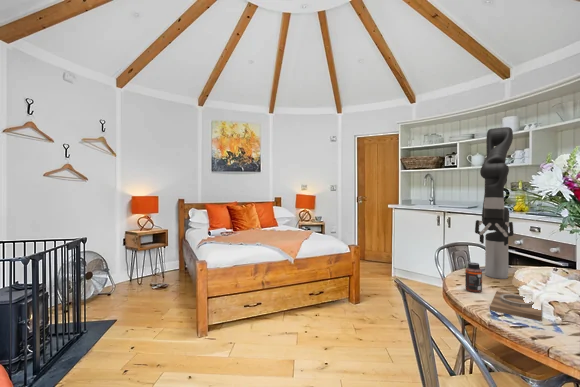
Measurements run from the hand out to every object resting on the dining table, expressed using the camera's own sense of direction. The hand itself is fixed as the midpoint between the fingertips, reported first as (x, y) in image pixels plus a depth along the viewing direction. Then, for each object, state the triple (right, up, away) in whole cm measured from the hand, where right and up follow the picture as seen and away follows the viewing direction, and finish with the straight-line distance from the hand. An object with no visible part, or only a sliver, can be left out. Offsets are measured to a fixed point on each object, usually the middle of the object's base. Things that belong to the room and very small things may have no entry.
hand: (493, 244), depth 138 cm
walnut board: (-9, -18, -26) cm, 33 cm away
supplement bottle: (-14, -18, -9) cm, 25 cm away
